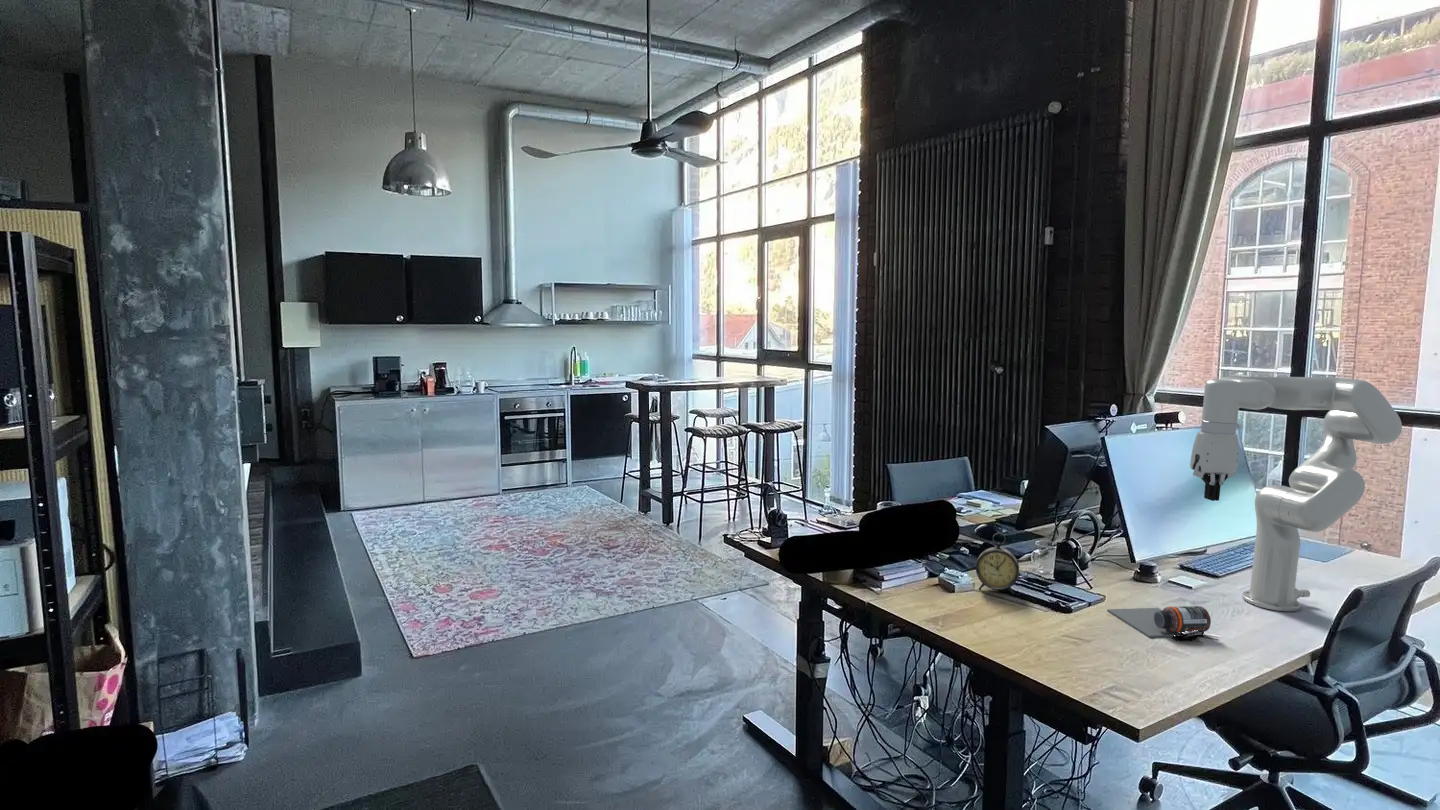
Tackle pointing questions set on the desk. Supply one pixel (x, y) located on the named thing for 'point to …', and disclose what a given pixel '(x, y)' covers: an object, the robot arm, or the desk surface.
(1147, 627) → the rubber mat
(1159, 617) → the supplement bottle
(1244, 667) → the desk surface
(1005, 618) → the desk surface
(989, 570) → the alarm clock
